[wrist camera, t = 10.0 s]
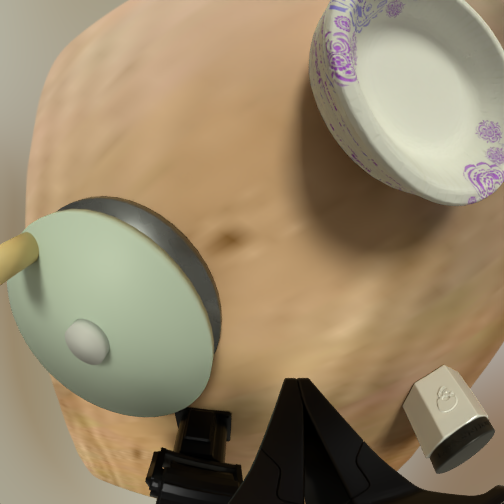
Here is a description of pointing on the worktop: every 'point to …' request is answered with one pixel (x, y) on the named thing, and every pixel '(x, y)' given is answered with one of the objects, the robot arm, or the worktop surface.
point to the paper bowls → (413, 94)
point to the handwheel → (108, 313)
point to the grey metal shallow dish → (164, 247)
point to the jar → (447, 419)
